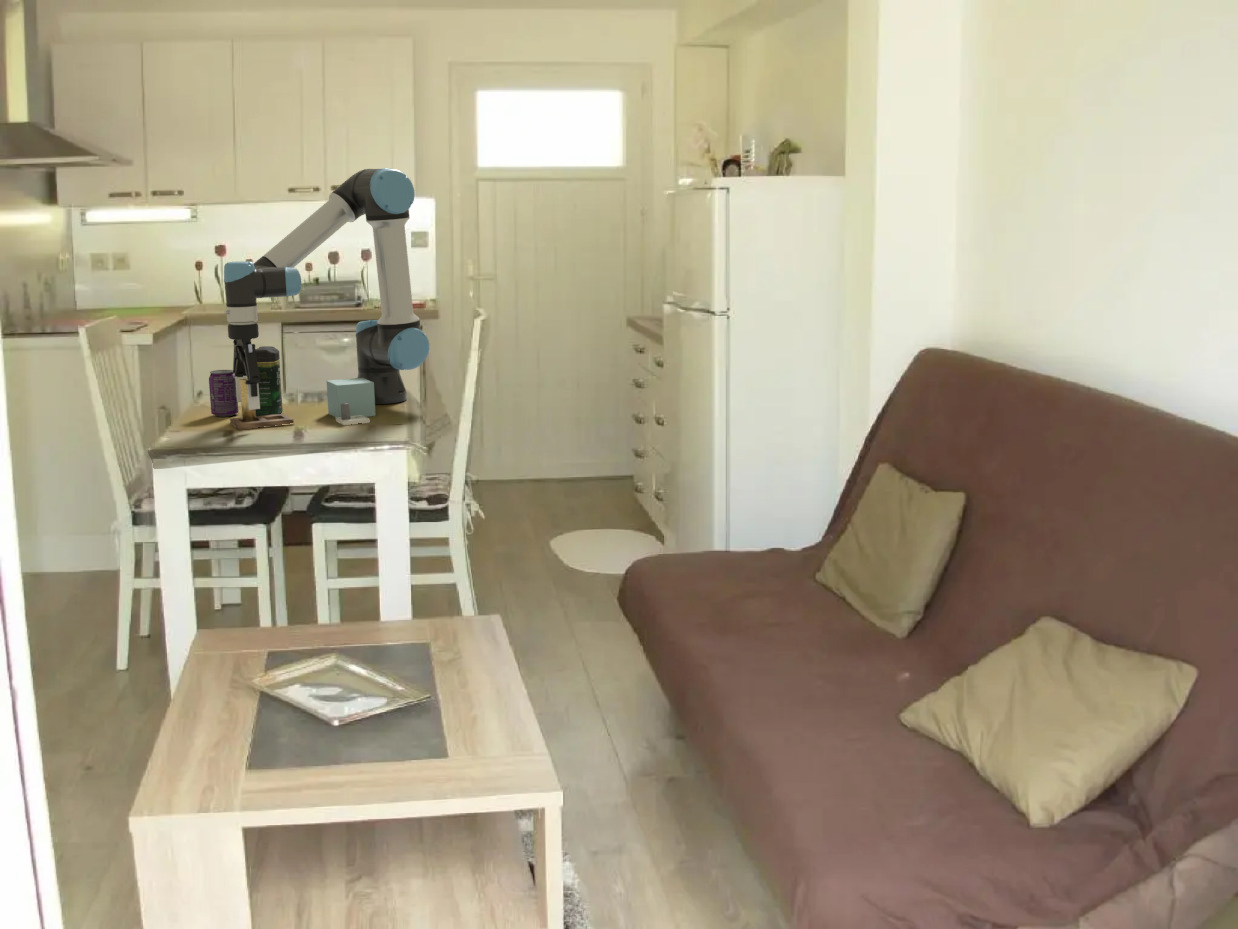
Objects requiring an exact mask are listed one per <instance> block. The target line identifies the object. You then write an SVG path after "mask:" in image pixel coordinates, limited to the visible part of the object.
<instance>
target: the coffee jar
mask: <svg viewBox="0 0 1238 929" xmlns="http://www.w3.org/2000/svg"><path fill="white" fill-rule="evenodd" d="M255 351H256V358H257V364H258V369H259V375H260V379H261V380H260V382H259V383H258V385H259V400H260V409H256V416H264V415H275V414H283V410H284V409H283V397H282V396H283V394H282V382H281V381H282V380H281V359H280V350H279V349H277V348H276V347H275V346H269V345H267V346H266V345H264V346H263V345H262V346H259V347H257V348H255Z"/></svg>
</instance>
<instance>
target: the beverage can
mask: <svg viewBox="0 0 1238 929" xmlns="http://www.w3.org/2000/svg"><path fill="white" fill-rule="evenodd" d="M209 373H210V375H209V377H208V385H209V387H208V388H209V400H210V402H209V403H210V413H211V415H213V416H215V417H217V418H228V417H229V418H230V417H233V416H236V414H238V413H239V402H237V393H236V379H235V373H233V369H217V370H210V371H209Z"/></svg>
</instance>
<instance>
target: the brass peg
mask: <svg viewBox="0 0 1238 929" xmlns="http://www.w3.org/2000/svg"><path fill="white" fill-rule="evenodd" d="M246 381H248V380H247V379H240V389H241V402H240V403H241V415H242V418H243V422H251V421H256V409H252V410H249V406H248V392H247V384H245V382H246Z"/></svg>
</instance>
